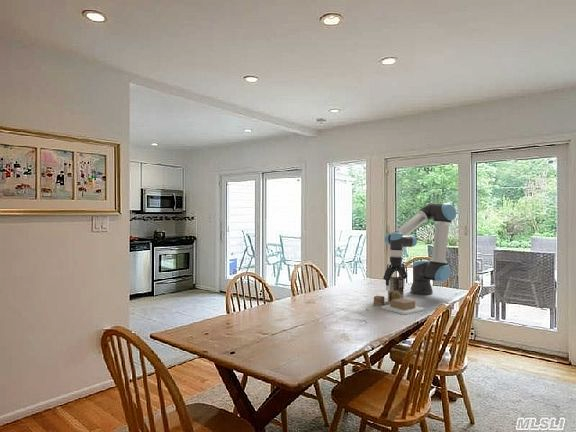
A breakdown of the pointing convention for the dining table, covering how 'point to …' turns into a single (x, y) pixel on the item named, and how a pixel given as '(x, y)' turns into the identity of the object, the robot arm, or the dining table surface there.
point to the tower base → (417, 309)
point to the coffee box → (395, 288)
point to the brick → (379, 300)
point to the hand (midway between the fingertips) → (395, 289)
